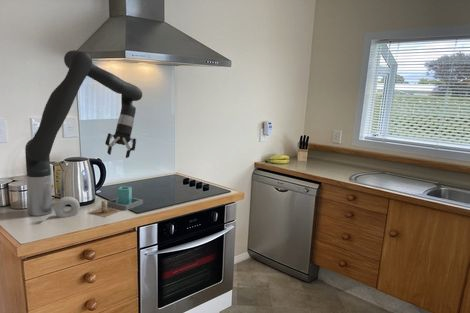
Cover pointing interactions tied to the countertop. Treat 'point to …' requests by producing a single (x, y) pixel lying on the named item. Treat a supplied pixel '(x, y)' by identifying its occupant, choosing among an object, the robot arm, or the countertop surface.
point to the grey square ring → (115, 204)
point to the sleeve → (125, 195)
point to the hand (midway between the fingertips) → (117, 156)
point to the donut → (65, 201)
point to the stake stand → (104, 210)
